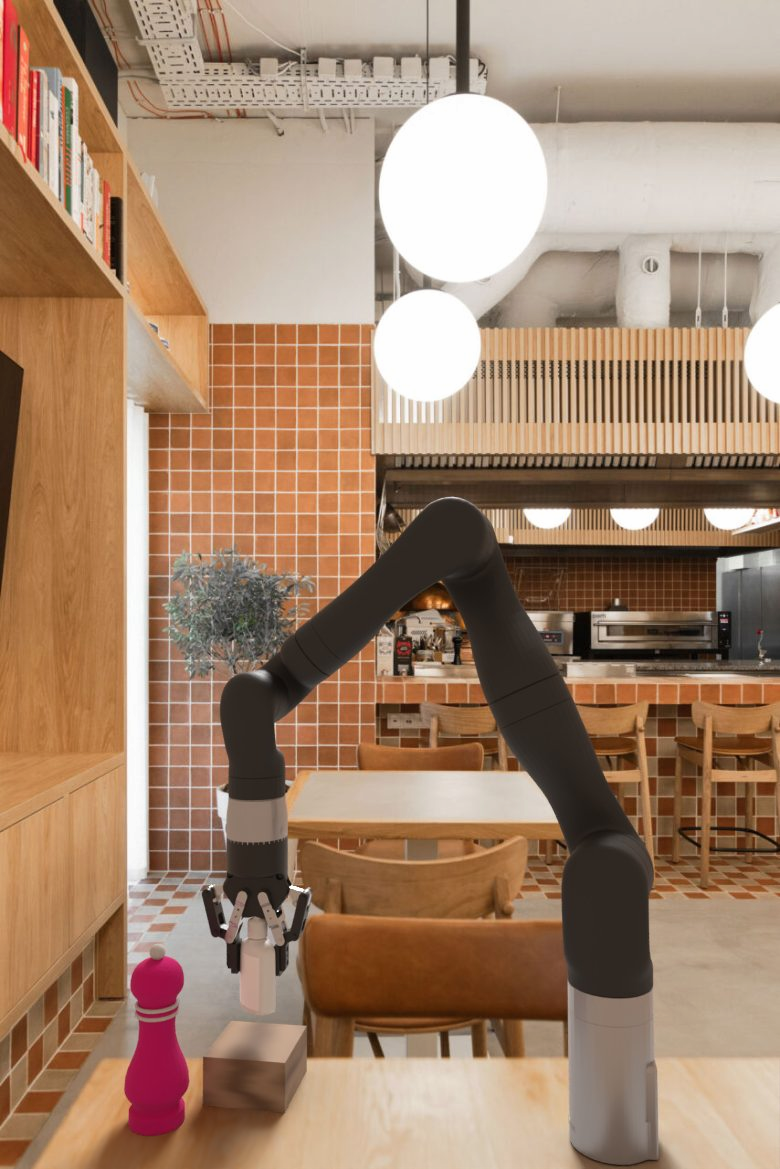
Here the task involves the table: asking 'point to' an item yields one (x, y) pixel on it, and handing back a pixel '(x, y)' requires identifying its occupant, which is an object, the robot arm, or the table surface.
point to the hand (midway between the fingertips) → (257, 972)
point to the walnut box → (255, 1066)
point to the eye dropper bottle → (257, 970)
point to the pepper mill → (156, 1048)
